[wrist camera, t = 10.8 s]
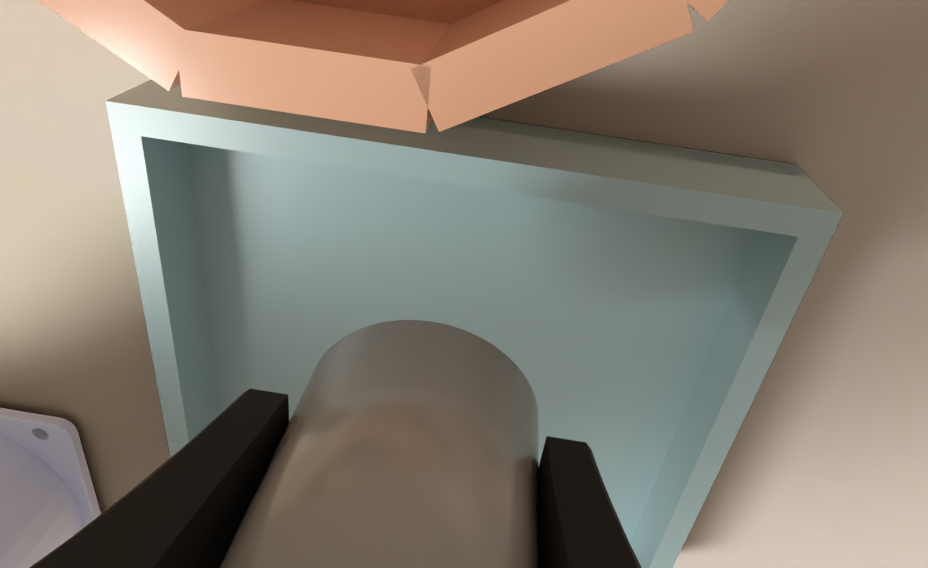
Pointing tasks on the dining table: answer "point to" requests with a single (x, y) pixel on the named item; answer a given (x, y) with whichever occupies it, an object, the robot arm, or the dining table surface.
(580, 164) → the parts tray
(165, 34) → the terracotta bowl
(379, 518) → the slate pebble
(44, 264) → the dining table surface
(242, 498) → the robot arm
